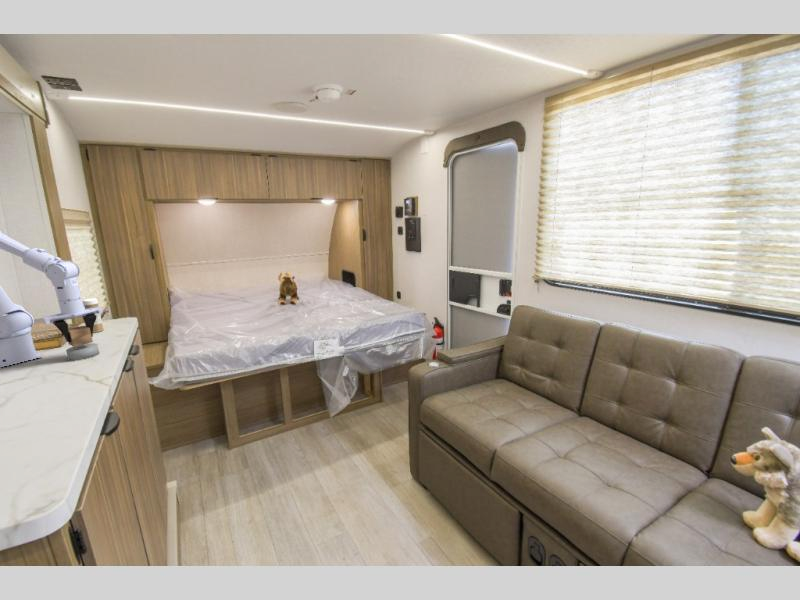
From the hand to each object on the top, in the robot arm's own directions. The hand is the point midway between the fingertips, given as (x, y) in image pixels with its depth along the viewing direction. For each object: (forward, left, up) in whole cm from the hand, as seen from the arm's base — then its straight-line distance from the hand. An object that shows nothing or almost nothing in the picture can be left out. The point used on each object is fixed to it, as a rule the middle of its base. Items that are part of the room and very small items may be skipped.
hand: (79, 339), depth 121 cm
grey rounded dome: (0, 0, -6) cm, 6 cm away
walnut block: (0, 0, -2) cm, 2 cm away
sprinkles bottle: (+13, +29, -6) cm, 33 cm away
